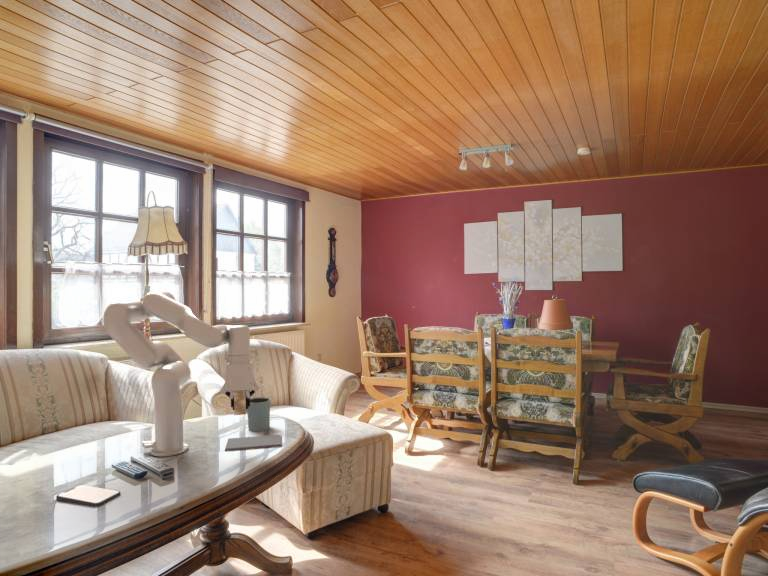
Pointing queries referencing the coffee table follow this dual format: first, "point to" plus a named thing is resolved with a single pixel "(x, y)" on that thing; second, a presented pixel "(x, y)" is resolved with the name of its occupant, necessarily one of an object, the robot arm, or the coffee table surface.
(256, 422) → the grey-green cup
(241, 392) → the maple block
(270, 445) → the mat
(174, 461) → the coffee table surface
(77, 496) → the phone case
